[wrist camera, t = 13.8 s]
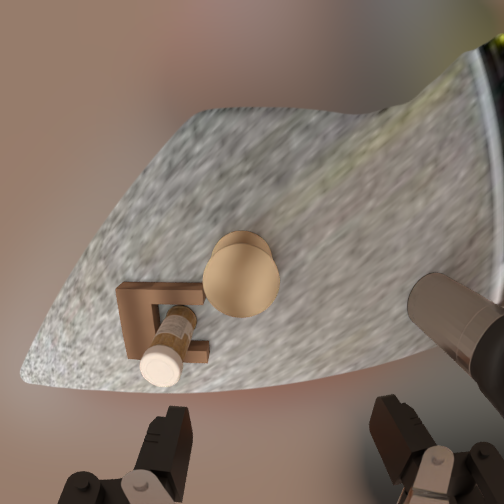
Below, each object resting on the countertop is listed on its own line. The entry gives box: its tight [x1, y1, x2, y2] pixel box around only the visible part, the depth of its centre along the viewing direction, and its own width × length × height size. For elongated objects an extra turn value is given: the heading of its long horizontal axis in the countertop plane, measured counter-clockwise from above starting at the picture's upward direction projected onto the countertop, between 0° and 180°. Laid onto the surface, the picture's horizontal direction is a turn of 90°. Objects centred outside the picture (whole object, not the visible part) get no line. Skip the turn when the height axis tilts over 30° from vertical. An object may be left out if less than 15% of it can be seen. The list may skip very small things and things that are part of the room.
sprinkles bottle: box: [140, 306, 197, 387], centre depth 36 cm, size 5×5×14 cm
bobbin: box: [203, 231, 280, 318], centre depth 36 cm, size 8×8×9 cm
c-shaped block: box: [115, 282, 210, 363], centre depth 41 cm, size 12×11×3 cm
